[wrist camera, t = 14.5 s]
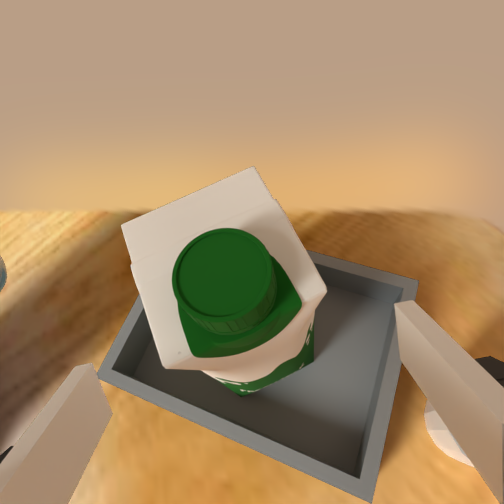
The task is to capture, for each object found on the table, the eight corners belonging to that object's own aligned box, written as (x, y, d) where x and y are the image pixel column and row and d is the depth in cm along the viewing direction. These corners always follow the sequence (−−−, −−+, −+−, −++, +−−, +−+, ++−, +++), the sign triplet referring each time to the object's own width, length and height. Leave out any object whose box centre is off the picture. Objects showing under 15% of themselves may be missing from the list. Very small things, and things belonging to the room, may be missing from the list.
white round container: (484, 368, 30) (530, 351, 24) (529, 462, 27) (596, 471, 20) (402, 386, 30) (426, 373, 24) (437, 481, 27) (475, 495, 21)
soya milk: (235, 413, 30) (129, 381, 12) (199, 318, 34) (82, 194, 17) (329, 367, 31) (355, 274, 13) (282, 279, 35) (254, 119, 17)
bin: (123, 384, 33) (94, 376, 29) (195, 240, 40) (181, 215, 35) (361, 492, 27) (371, 503, 23) (404, 301, 33) (419, 280, 29)
